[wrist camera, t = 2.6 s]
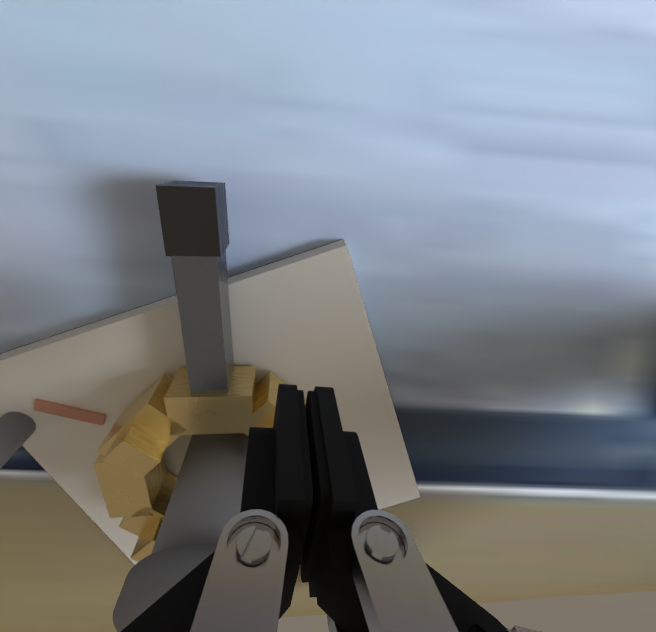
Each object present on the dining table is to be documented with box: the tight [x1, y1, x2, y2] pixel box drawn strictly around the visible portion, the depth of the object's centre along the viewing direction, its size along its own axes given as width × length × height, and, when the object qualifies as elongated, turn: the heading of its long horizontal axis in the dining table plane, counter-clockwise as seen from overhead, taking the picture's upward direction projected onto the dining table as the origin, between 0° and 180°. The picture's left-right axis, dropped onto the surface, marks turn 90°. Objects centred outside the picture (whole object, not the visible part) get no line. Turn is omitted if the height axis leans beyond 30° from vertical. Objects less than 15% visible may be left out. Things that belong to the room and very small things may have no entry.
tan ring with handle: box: [93, 181, 306, 562], centre depth 21 cm, size 24×14×4 cm, turn 177°
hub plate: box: [0, 239, 420, 632], centre depth 21 cm, size 24×22×12 cm
